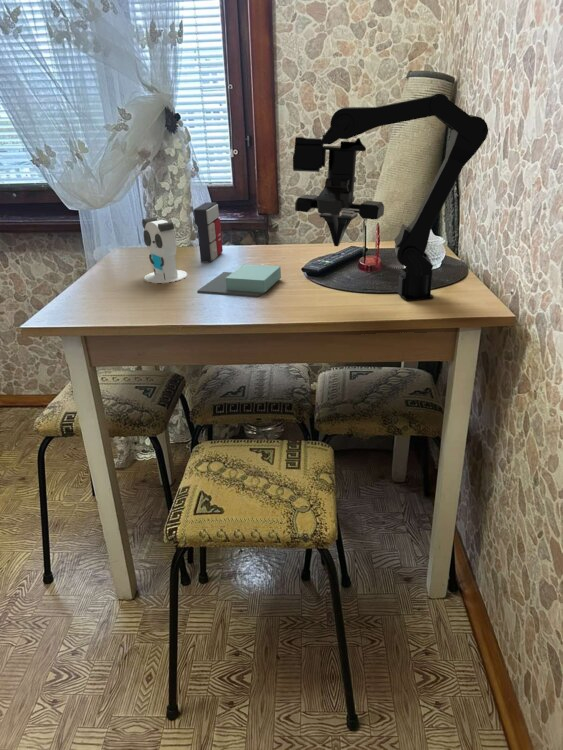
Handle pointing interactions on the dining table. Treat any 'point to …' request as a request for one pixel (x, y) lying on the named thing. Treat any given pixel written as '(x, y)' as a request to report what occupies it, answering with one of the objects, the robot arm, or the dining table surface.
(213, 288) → the mat
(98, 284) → the dining table surface
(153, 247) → the panda figurine
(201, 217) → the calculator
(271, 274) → the board
